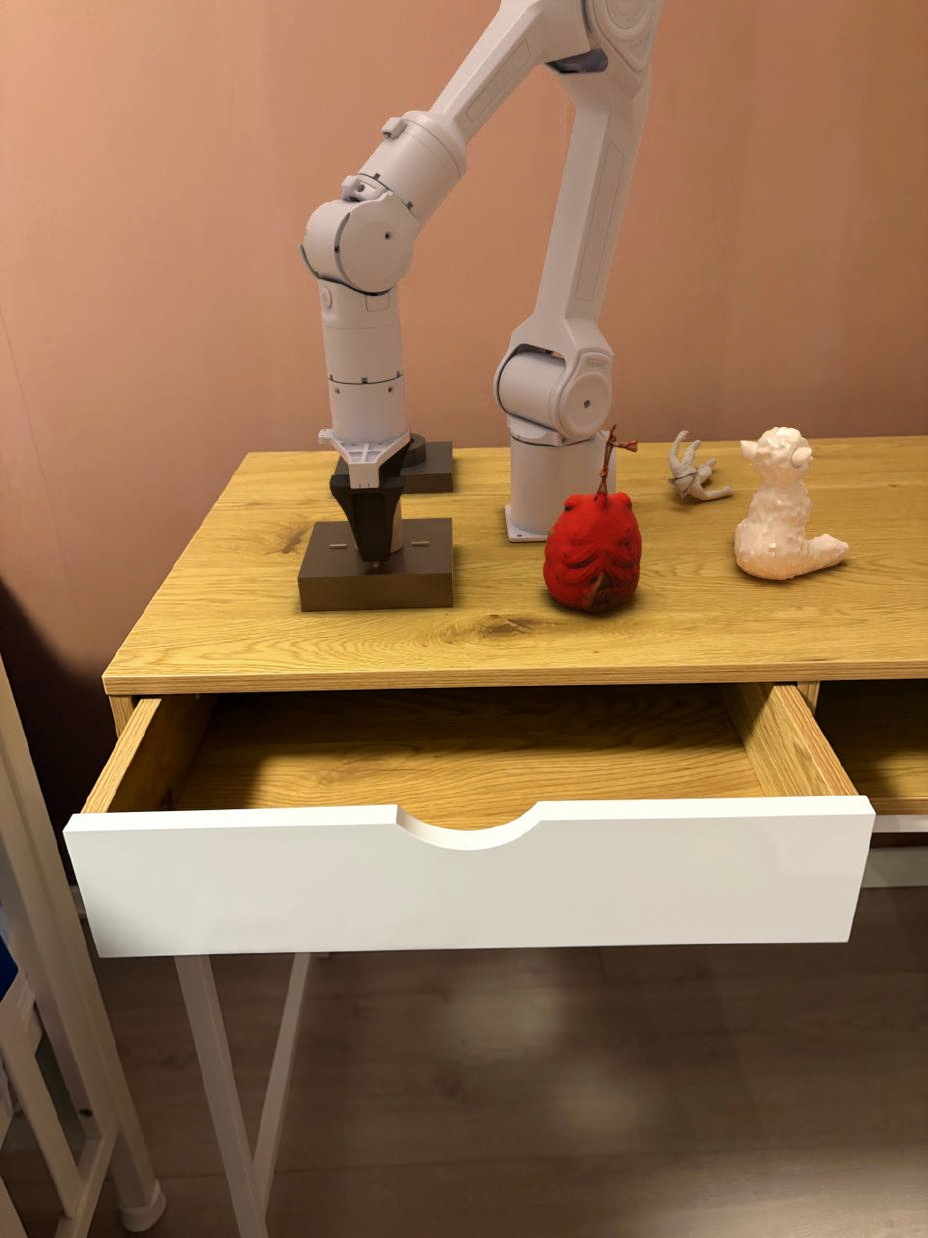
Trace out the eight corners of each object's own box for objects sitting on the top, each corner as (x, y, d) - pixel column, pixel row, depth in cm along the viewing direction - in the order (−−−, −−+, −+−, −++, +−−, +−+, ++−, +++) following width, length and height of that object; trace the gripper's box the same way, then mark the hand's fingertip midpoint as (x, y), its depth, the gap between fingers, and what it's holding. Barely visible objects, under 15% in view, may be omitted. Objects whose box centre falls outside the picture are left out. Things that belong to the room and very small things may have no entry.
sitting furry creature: (849, 560, 79) (875, 421, 73) (812, 600, 73) (837, 452, 67) (742, 535, 84) (758, 403, 79) (699, 570, 78) (713, 430, 73)
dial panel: (453, 548, 84) (451, 515, 82) (453, 606, 74) (451, 570, 73) (318, 552, 84) (315, 519, 82) (301, 611, 74) (296, 575, 73)
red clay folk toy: (624, 575, 78) (635, 396, 71) (652, 615, 72) (667, 424, 65) (535, 584, 77) (536, 404, 70) (555, 625, 71) (559, 432, 64)
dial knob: (402, 554, 76) (398, 504, 74) (352, 555, 76) (347, 506, 74) (404, 534, 79) (401, 486, 77) (357, 535, 79) (352, 487, 77)
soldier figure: (736, 483, 98) (743, 488, 87) (698, 513, 100) (701, 522, 88) (687, 426, 98) (689, 423, 87) (651, 457, 100) (647, 459, 88)
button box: (452, 460, 104) (451, 424, 102) (452, 493, 96) (451, 455, 94) (345, 463, 104) (341, 428, 102) (335, 496, 96) (331, 459, 94)
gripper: (323, 353, 77) (339, 507, 84) (298, 403, 64) (319, 580, 71) (409, 350, 77) (418, 505, 84) (401, 400, 64) (412, 577, 71)
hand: (379, 539), depth 77 cm, fingers open, 7 cm apart
